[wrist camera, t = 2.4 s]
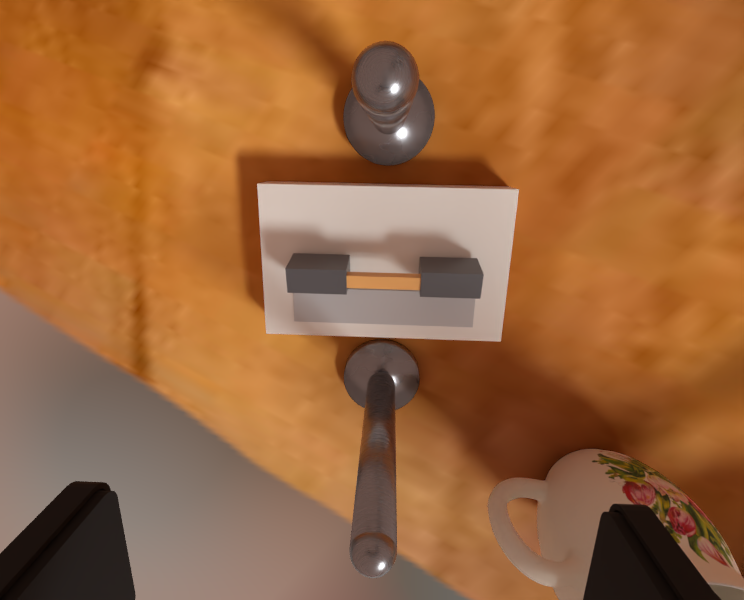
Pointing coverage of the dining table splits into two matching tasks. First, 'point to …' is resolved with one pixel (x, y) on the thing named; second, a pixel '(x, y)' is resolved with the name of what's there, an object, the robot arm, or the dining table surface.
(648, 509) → the robot arm
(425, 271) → the square dumbbell
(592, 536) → the pitcher
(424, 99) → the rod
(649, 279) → the dining table surface
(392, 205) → the panel
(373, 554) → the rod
